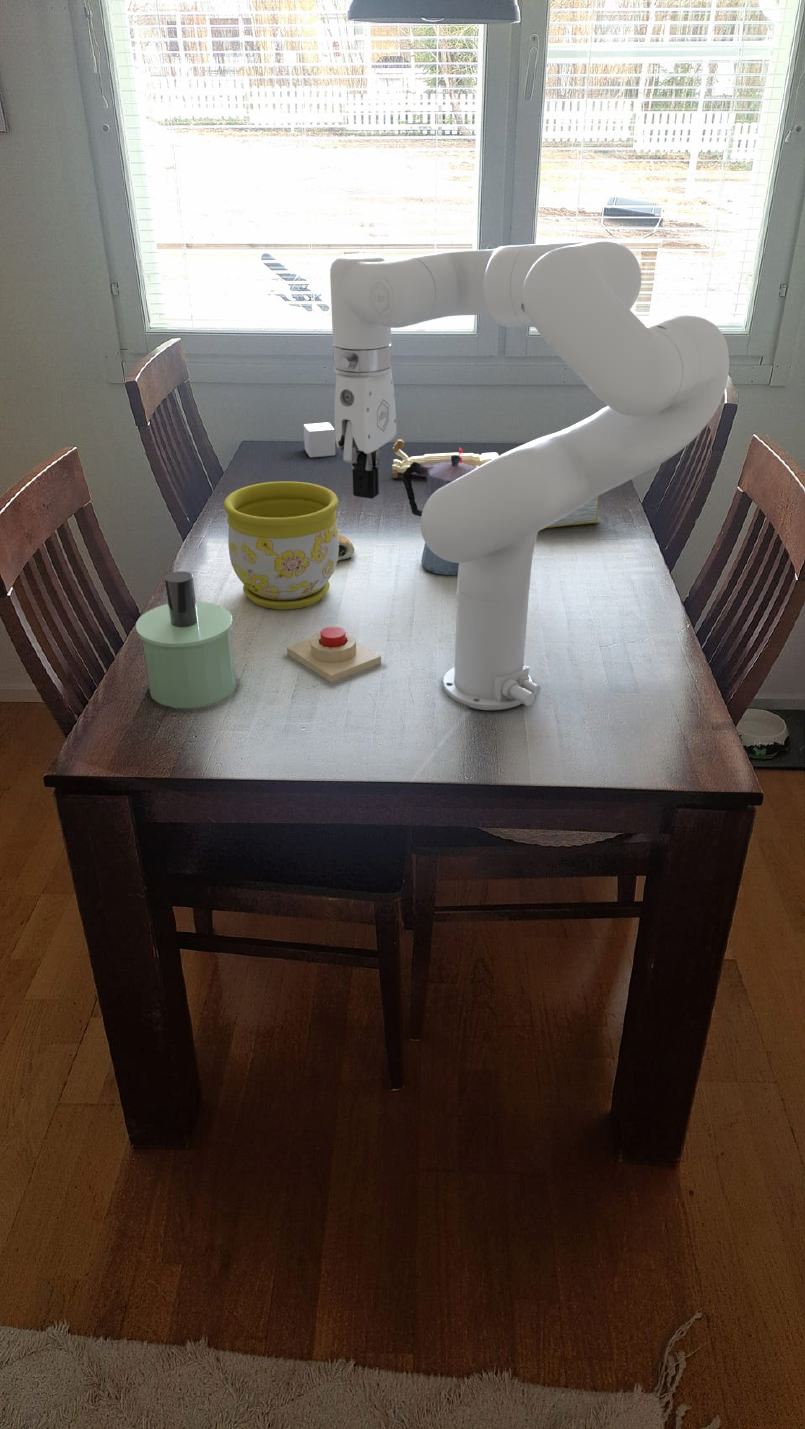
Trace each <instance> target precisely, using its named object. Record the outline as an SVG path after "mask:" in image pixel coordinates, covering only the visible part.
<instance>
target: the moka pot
mask: <svg viewBox="0 0 805 1429" xmlns="http://www.w3.org/2000/svg"><path fill="white" fill-rule="evenodd" d="M459 460H460V456H458V455H452V456H451V462H452V463H438V464H436V465H433V466H431V465H428V464H423V465H422V464H419V463H417V462H413V464H411V465H410V467H408V468H407V469H406V471H405V472H404V473H402V482H403V485H404V488H405V491H406V495H407V499H408V502H409V506H410V509H411V510H410V511H411V513H412V515H414V516H417V517H421V516H422V511H423V510H420V509H418V505H417V503H416V497H415V492H414V489H413V484H412V480H411V475H413V474H412V473H414V472H415V473H414V474H417V475H418V476H421V477H425V478H426V485H427V500H428V499H429V498H430V496H431V495H432V494H433V493H434V492H435V491H437V490H438V489H440V488H441V487H443V486H445V485H447V484H449V483H451V482H452V481H454V480H456V479H458V478H460V477H462V476H463V475H465V474H467V473H469V472H471V471H472V470H474V469H476V468H477V467H474V466H471V465H467V464H464V463H459ZM422 550H423V551H422V555H421V559H420V560H421V566H422V567H423V568H424V569H425V570H427V571H428V572H431V573H434V574H438V575H446V576H458V568H459V563H454V562H450V561H446V560H444V559H442V558H440V557H438V556H437V555H436V554H434V553H433V552H432V551H431V550H430V549H429V547H428V546H427V545H426V543H425V542H424V546H423V549H422Z"/></svg>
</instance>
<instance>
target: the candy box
mask: <svg viewBox="0 0 805 1429" xmlns="http://www.w3.org/2000/svg"><path fill="white" fill-rule="evenodd" d="M599 497H600V495H599V496H597V497H595V498H593V499H592V500H590V501H588V502H587V503H585V504H584V505H583V506H581V507H580V508H578V509H577V510H575V511H574V512H572V513H571V514H569V515H567V516H565V517H564V518H562V519H560V520H558V521H556V522H555V523H553V524H551V525H549V526H547V527H546V528H545V529H549V528H550V529H551V528H560V527H569V526H579V525H590V524H597V523H598V514H599V513H598V512H599Z"/></svg>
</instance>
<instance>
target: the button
mask: <svg viewBox="0 0 805 1429" xmlns="http://www.w3.org/2000/svg"><path fill="white" fill-rule="evenodd" d="M345 632H346V630H345V629H343V628H342V627H338V626H329V627H325V628H323V629H322V630H320V632H319V633H320V636H321V645H322V646H324V647H330V648H333V647H340V646H343V645H345V643H346V637H345Z"/></svg>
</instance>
